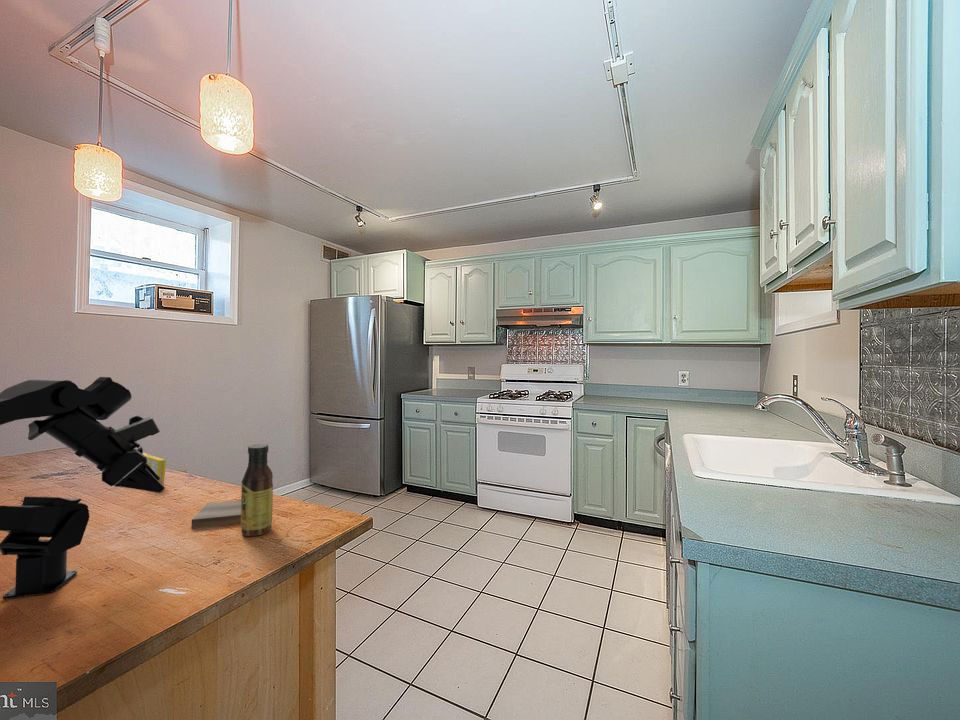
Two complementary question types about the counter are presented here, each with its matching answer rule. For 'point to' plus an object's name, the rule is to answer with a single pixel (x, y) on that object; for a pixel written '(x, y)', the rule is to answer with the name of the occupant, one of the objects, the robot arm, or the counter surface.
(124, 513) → the counter surface
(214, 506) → the trivet
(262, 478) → the sauce bottle
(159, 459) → the candy box
